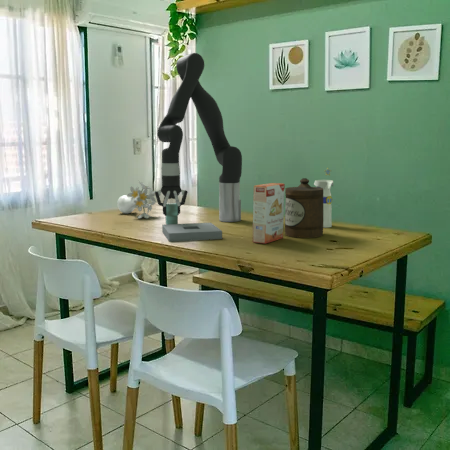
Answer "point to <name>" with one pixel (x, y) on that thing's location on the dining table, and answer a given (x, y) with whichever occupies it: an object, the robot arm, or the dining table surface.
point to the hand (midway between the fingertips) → (171, 215)
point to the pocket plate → (191, 231)
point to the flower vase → (136, 200)
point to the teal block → (171, 213)
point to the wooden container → (304, 211)
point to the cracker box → (268, 212)
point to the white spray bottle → (326, 199)
